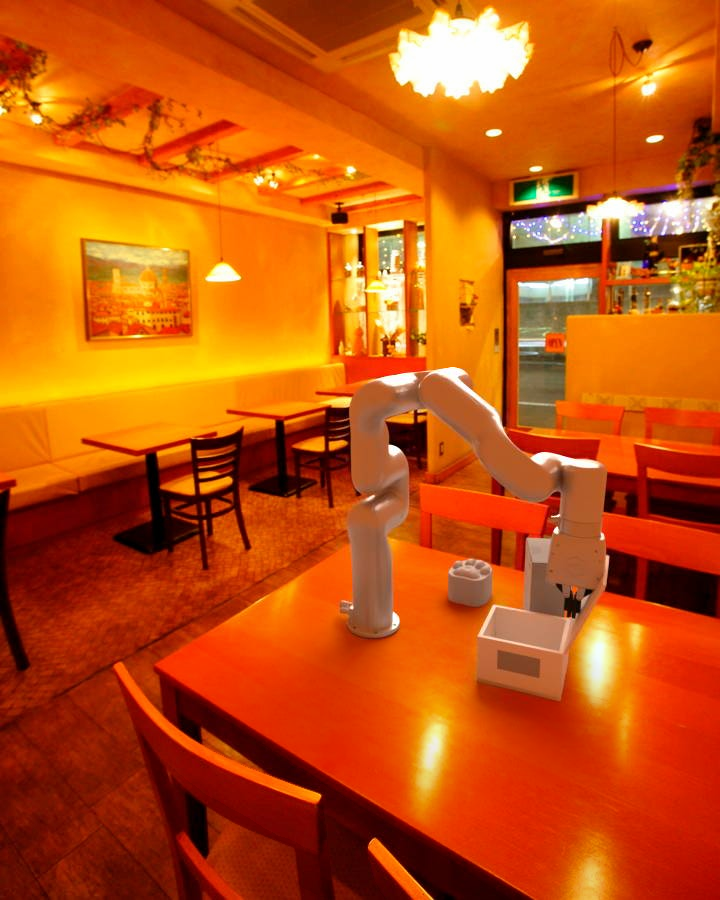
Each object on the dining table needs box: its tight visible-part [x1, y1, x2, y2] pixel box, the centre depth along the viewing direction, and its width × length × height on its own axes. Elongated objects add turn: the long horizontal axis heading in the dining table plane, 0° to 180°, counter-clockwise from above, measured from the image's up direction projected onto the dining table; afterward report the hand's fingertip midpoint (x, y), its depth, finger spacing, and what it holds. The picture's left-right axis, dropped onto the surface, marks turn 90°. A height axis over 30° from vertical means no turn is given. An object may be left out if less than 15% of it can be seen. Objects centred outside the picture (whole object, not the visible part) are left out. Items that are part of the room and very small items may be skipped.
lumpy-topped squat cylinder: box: [447, 558, 493, 608], centre depth 150 cm, size 10×13×9 cm
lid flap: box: [563, 554, 610, 655], centre depth 109 cm, size 16×14×1 cm
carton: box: [476, 604, 571, 702], centre depth 116 cm, size 16×14×10 cm
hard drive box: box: [522, 537, 566, 618], centre depth 131 cm, size 16×8×20 cm, turn 168°
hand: (571, 614), depth 111 cm, fingers closed
